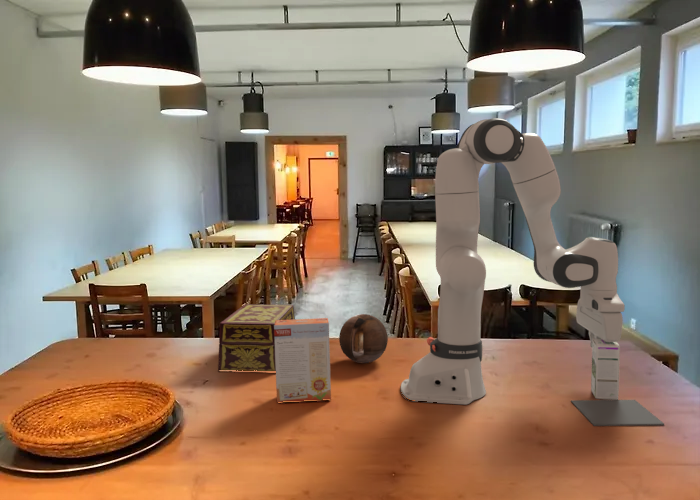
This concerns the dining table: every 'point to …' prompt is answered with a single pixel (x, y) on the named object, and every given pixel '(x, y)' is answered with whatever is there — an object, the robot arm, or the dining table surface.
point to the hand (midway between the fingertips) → (595, 348)
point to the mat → (616, 413)
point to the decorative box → (251, 337)
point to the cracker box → (302, 359)
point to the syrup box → (605, 369)
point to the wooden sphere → (363, 338)
